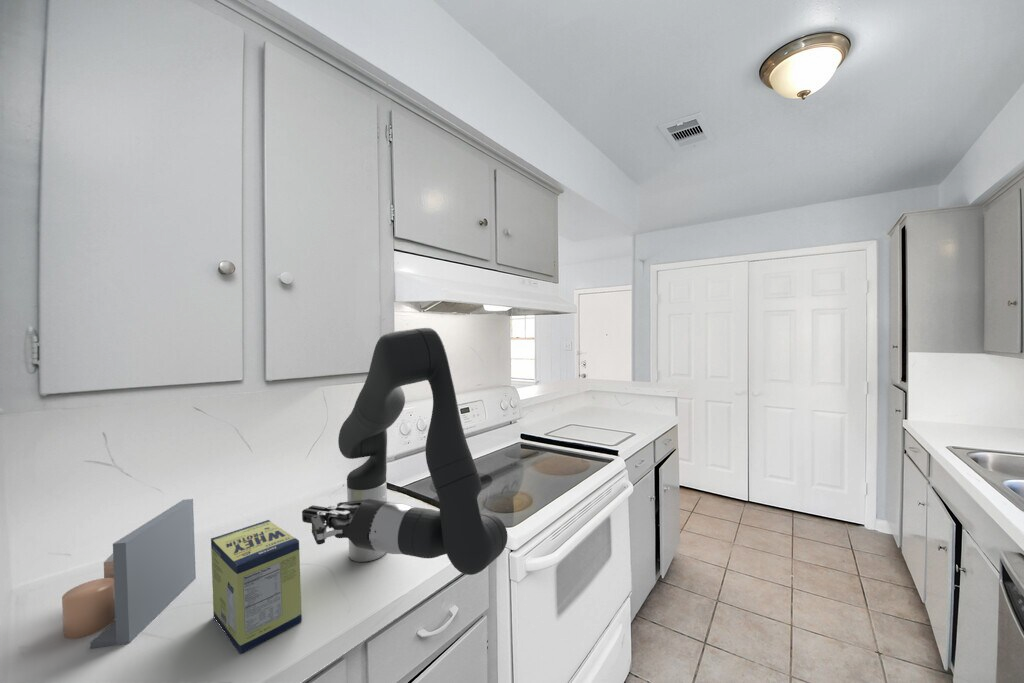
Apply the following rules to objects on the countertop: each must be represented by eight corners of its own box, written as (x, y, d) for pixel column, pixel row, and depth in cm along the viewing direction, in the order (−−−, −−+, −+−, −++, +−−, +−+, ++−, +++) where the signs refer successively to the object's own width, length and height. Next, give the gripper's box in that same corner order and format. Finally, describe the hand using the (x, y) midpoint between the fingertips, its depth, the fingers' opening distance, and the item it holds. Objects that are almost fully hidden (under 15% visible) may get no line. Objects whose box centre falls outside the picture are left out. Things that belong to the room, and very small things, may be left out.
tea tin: (116, 592, 88) (114, 551, 88) (146, 586, 90) (144, 545, 90) (105, 606, 83) (103, 562, 83) (137, 599, 85) (135, 556, 85)
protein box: (270, 591, 87) (268, 518, 87) (303, 621, 77) (301, 540, 77) (211, 617, 79) (209, 537, 79) (240, 656, 69) (237, 564, 69)
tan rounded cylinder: (85, 615, 81) (83, 580, 81) (125, 610, 82) (124, 575, 82) (51, 641, 74) (50, 603, 74) (96, 635, 75) (95, 597, 75)
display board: (165, 581, 91) (162, 501, 91) (195, 578, 92) (192, 498, 92) (90, 648, 72) (86, 546, 72) (129, 643, 73) (125, 542, 73)
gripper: (410, 489, 74) (334, 479, 80) (358, 521, 61) (272, 507, 67) (411, 530, 74) (335, 518, 80) (359, 571, 61) (274, 553, 67)
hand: (306, 513), depth 73 cm, fingers closed
